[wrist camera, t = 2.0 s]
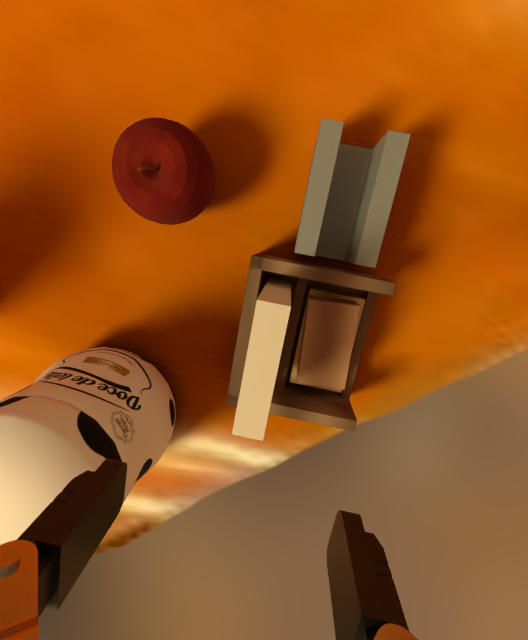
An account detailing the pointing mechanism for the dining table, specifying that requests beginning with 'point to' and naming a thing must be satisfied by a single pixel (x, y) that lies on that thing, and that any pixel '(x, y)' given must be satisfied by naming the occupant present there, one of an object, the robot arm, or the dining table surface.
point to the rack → (289, 395)
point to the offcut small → (327, 341)
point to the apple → (163, 171)
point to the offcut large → (314, 292)
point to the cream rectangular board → (263, 359)
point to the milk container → (79, 429)
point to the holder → (349, 196)
